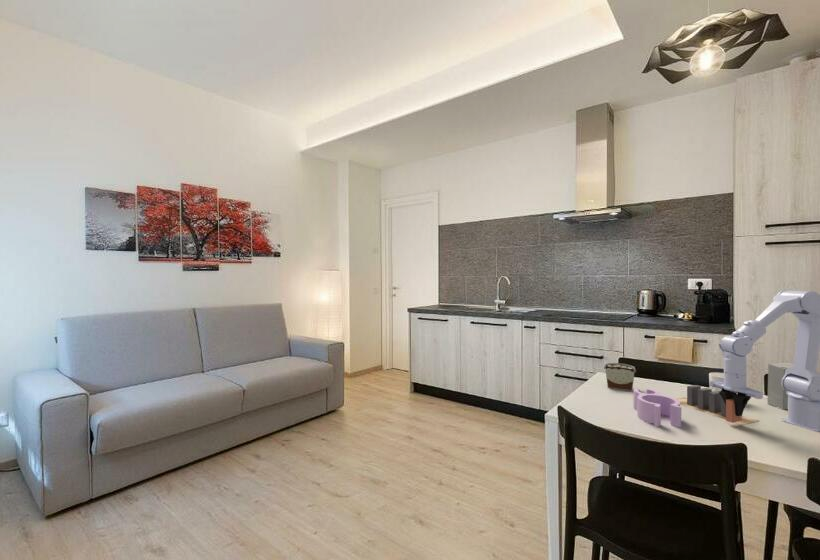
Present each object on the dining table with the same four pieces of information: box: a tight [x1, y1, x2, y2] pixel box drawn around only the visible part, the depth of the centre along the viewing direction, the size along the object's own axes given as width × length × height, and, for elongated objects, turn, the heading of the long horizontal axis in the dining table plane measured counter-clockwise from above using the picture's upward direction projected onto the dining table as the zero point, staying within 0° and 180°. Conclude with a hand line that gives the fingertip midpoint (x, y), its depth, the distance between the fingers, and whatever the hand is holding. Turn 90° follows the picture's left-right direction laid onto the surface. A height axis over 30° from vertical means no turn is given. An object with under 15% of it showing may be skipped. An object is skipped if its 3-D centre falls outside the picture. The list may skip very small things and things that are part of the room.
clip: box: [633, 387, 682, 429], centre depth 138 cm, size 20×12×7 cm, turn 172°
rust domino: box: [726, 398, 743, 424], centre depth 129 cm, size 2×5×7 cm, turn 109°
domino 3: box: [709, 391, 721, 413], centre depth 140 cm, size 2×5×7 cm, turn 108°
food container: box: [603, 362, 637, 392], centre depth 171 cm, size 12×6×10 cm, turn 58°
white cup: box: [708, 372, 724, 392], centre depth 153 cm, size 8×8×10 cm
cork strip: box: [676, 397, 760, 426], centre depth 142 cm, size 26×9×1 cm, turn 19°
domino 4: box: [721, 397, 726, 417], centre depth 137 cm, size 2×5×7 cm, turn 108°
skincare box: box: [767, 362, 803, 410], centre depth 145 cm, size 8×7×16 cm
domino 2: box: [698, 387, 712, 410], centre depth 144 cm, size 2×5×7 cm, turn 108°
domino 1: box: [686, 384, 702, 406], centre depth 148 cm, size 2×5×7 cm, turn 109°
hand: (734, 414), depth 129 cm, fingers closed on rust domino, 2 cm apart
